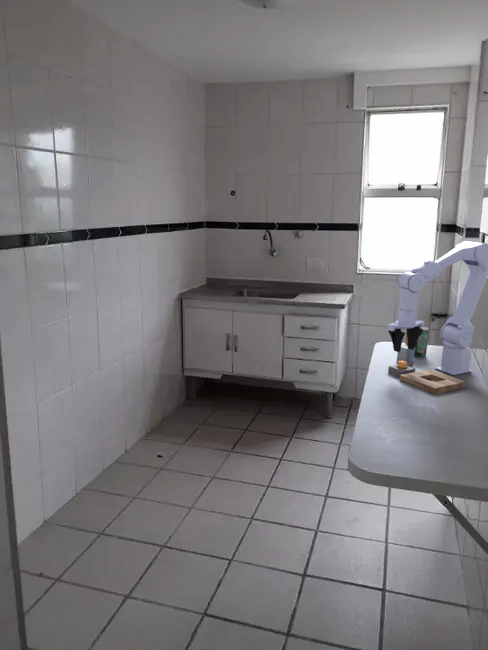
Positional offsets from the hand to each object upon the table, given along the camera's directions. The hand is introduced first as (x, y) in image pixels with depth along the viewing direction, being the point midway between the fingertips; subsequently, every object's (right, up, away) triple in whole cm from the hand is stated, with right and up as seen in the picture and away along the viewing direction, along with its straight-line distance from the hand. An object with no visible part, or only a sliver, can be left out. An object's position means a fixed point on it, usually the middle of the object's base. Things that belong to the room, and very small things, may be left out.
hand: (403, 350), depth 182 cm
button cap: (0, -6, +1) cm, 6 cm away
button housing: (0, -8, +2) cm, 8 cm away
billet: (+4, -6, +12) cm, 14 cm away
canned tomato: (+11, -3, +25) cm, 28 cm away
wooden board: (+7, -10, -7) cm, 14 cm away
